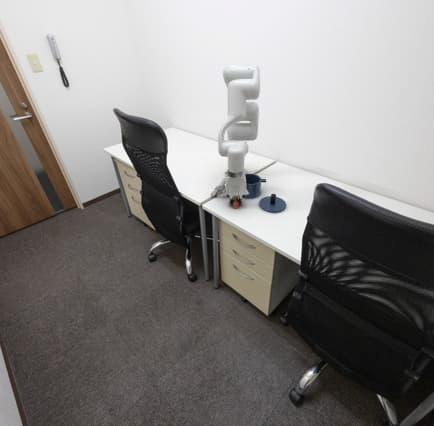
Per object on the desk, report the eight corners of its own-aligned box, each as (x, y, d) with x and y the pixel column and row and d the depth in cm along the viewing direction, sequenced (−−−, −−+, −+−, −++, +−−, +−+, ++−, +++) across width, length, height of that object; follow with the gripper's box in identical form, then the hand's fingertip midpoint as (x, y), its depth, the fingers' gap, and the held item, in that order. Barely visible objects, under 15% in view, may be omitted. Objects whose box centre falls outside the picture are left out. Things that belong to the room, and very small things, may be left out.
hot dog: (232, 200, 126) (232, 195, 124) (238, 200, 126) (238, 195, 124) (232, 209, 120) (232, 204, 118) (239, 209, 120) (239, 204, 118)
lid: (257, 198, 127) (258, 188, 124) (282, 197, 127) (284, 187, 124) (261, 213, 117) (261, 203, 113) (288, 212, 116) (290, 202, 113)
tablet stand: (216, 189, 136) (216, 176, 131) (229, 191, 134) (229, 178, 129) (211, 196, 130) (210, 183, 125) (224, 199, 127) (224, 185, 122)
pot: (232, 186, 138) (232, 173, 133) (263, 186, 137) (264, 173, 132) (233, 198, 128) (233, 185, 122) (266, 198, 127) (267, 184, 122)
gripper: (218, 176, 109) (219, 208, 120) (253, 176, 109) (252, 208, 120) (218, 169, 115) (220, 200, 126) (252, 168, 115) (250, 200, 126)
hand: (235, 204), depth 123 cm, fingers closed on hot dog, 3 cm apart
